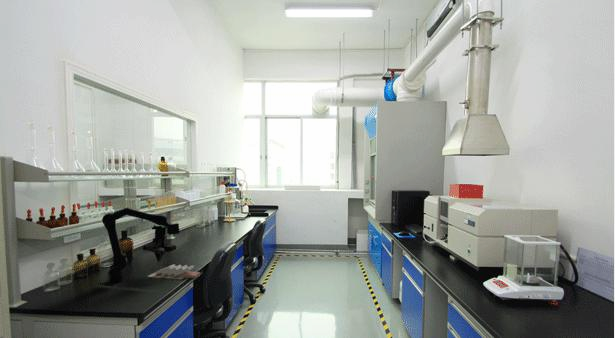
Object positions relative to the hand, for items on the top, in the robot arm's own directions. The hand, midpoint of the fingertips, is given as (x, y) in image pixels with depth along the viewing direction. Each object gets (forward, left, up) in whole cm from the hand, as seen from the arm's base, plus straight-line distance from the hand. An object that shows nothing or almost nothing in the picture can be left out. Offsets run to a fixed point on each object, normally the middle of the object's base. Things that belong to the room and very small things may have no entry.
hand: (158, 261), depth 152 cm
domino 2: (+4, 0, -6) cm, 7 cm away
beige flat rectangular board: (+8, 0, -8) cm, 11 cm away
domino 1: (0, 0, -6) cm, 6 cm away
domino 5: (+16, 0, -6) cm, 17 cm away
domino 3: (+8, 0, -6) cm, 10 cm away
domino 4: (+13, 0, -6) cm, 14 cm away
